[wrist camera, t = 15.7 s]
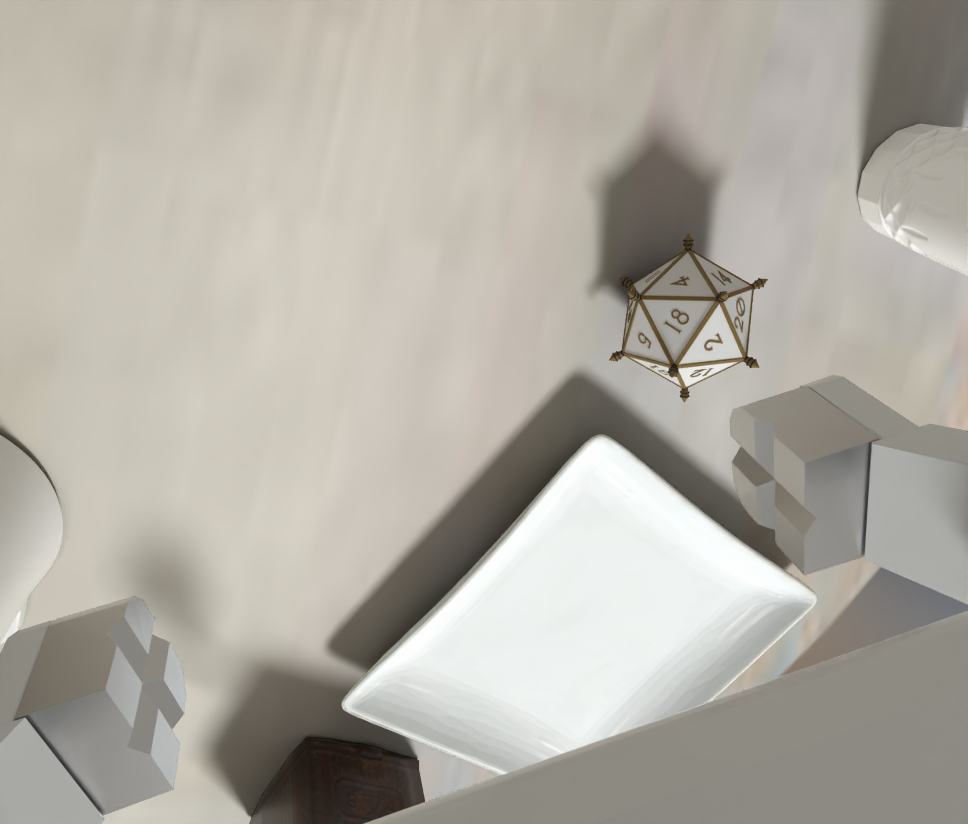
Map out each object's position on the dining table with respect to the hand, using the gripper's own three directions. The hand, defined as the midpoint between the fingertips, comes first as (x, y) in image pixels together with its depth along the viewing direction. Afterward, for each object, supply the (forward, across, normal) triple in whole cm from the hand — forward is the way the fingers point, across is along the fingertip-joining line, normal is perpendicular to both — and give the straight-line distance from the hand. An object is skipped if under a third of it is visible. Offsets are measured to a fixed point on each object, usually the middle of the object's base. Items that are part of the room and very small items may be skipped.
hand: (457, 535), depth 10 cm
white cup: (+34, -34, +11) cm, 50 cm away
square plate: (+35, -8, +39) cm, 53 cm away
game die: (+34, -17, +14) cm, 41 cm away
